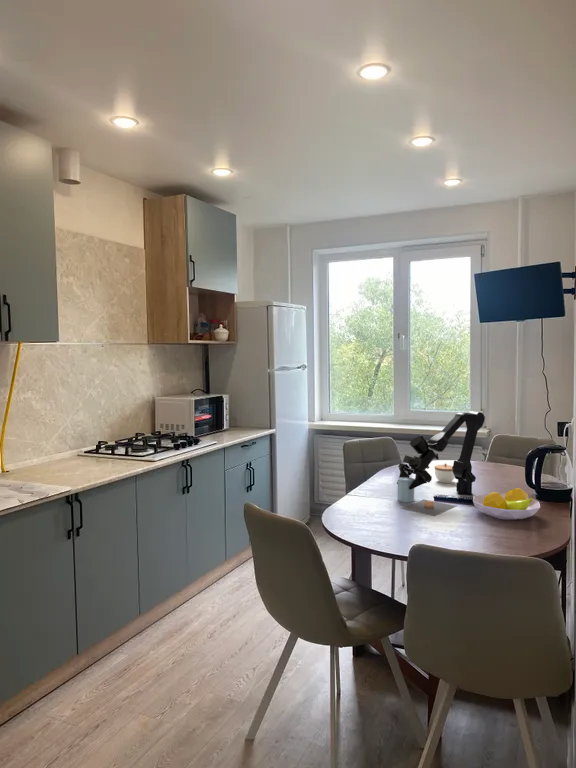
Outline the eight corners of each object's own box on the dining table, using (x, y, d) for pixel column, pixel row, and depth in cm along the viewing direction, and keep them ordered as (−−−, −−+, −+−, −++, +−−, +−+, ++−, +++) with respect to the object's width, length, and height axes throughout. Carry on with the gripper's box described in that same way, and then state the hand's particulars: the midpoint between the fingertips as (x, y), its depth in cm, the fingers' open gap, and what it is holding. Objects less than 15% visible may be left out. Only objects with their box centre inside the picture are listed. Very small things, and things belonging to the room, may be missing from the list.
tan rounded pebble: (433, 506, 251) (433, 500, 251) (433, 508, 247) (434, 503, 247) (424, 505, 252) (424, 500, 252) (424, 508, 248) (424, 502, 248)
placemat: (423, 500, 262) (423, 499, 262) (456, 506, 251) (456, 506, 251) (400, 509, 247) (400, 508, 247) (434, 517, 237) (434, 516, 237)
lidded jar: (456, 484, 292) (457, 466, 291) (434, 483, 294) (435, 465, 293) (455, 479, 302) (455, 462, 302) (433, 478, 304) (434, 461, 304)
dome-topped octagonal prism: (407, 497, 266) (408, 476, 265) (416, 501, 260) (417, 479, 259) (394, 499, 263) (395, 477, 262) (403, 503, 257) (404, 481, 256)
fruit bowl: (464, 506, 253) (464, 480, 252) (526, 506, 252) (527, 481, 251) (483, 526, 225) (484, 497, 224) (554, 527, 224) (555, 498, 224)
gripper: (401, 445, 270) (381, 471, 266) (426, 452, 253) (405, 479, 249) (415, 461, 274) (395, 486, 270) (441, 468, 257) (420, 495, 253)
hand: (403, 486), depth 260 cm, fingers open, 9 cm apart
